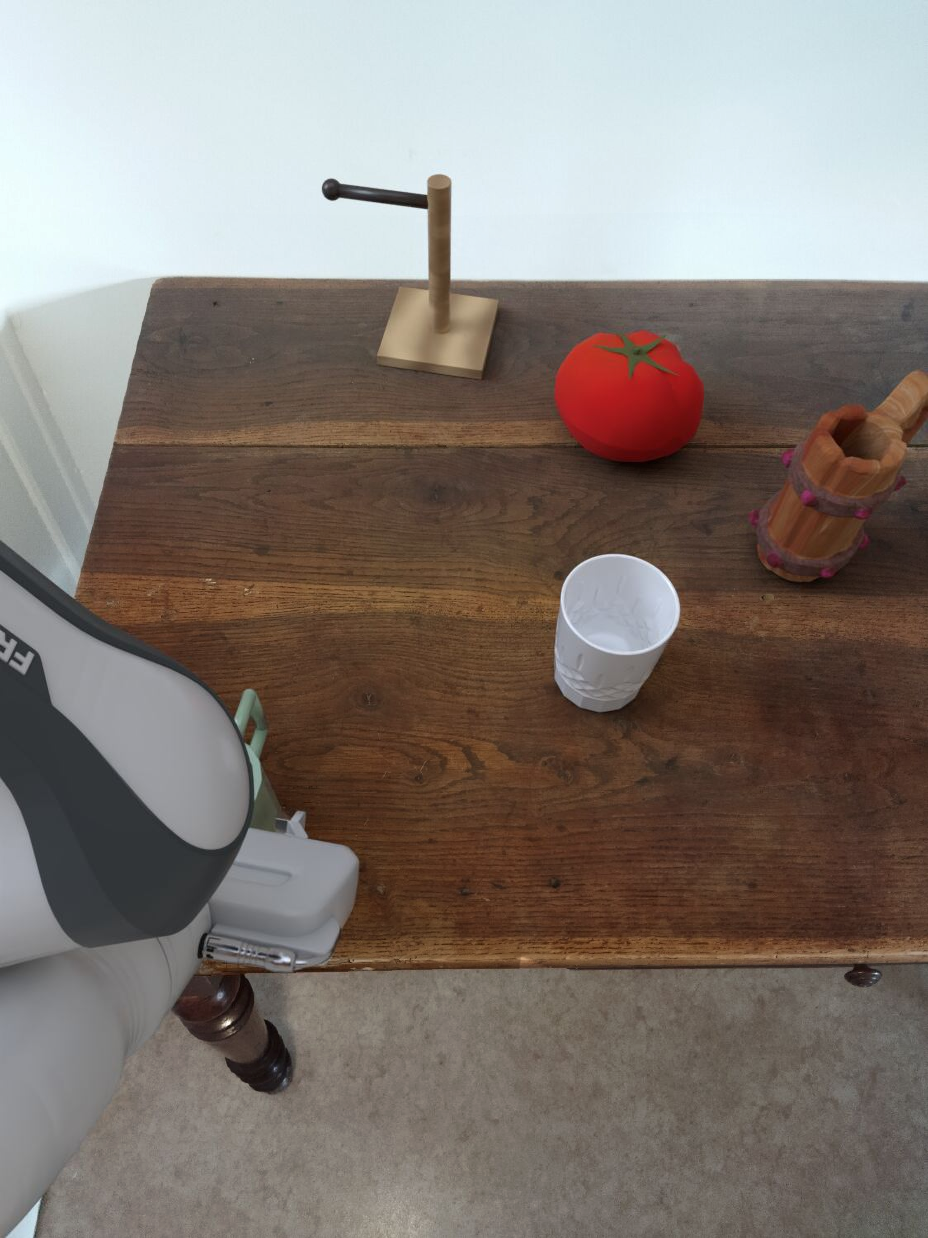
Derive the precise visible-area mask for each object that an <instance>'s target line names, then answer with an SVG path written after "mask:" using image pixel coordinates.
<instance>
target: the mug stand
mask: <svg viewBox="0 0 928 1238" xmlns="http://www.w3.org/2000/svg"><path fill="white" fill-rule="evenodd" d="M452 184H453V183H452V179H451V178H450V177H449V175H446V174H442V173H437V174H436V173H435V174H433V175H430V176H429V177H428V178H427V180H426V193H425V194H424V193H416V192H409V191H408V192H407V191H402V190H394V189H387V188H385V189H384V188H378V187H370V186H363V185H355V184H347V183H341V182H340V181H338V180H337V179H336V178H327V179H325V180H324V181H323V183H322V185H321V193H322V195H323V197H324V198H325V199H326V200H327V201H330V202H335V201H337V200H339V199H346V200H350V201H351V200H353V201H359V202H367V203H376V204H384V205H390V206H397V207H399V206H400V207H405V208H413V209H421V210H426V211H427V270H428V271H427V273H428V281H427V282H428V289H423V288H415V287H408V286H399V288H398V291H397V294H396V297H395V299H394V303H393V306H392V309H391V311H390V316H389V318H388V321H387V324H386V327H385V330H384V333H383V336H382V339H381V342H380V344H379V349H378V351H377V353H376V362H377V365H378V366H382V367H383V366H384V367H390V368H398V369H403V370H404V369H405V370H412V371H417V372H423V373H424V372H425V373H432V374H439V375H445V376H453V377H459V378H466V379H473V380H483V377H484V373H485V368H486V364H487V359H488V355H489V352H490V348H491V343H492V340H493V334H494V331H495V327H496V324H497V323H496V322H497V318H498V314H499V309H500V308H499V307H500V300H499V299H496V298H489V297H488V298H487V297H480V296H473V295H467V294H459V293H452V292H451V284H452V283H451V280H452V279H451V277H452V275H451V273H452V272H451V271H452V266H451V265H452V188H453V187H452Z"/></svg>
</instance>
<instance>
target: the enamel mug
mask: <svg viewBox="0 0 928 1238" xmlns="http://www.w3.org/2000/svg"><path fill="white" fill-rule="evenodd" d="M250 718H251V720H252V723H253V725H254V727H255V728H254V731H253V734H252V738H251V740H250V744H248V743H246V742H245V745H246V748H247V751H248V755H249V758H250V763H251V767H252V773H253V780H254V809H253V815H252V820H251V823H250V826H249V828H254V829H259V830H265V831H270V832H275V829H274V822H275V817H276V816H277V814H278V813H280V811H281V809H282V808H283V807H282V805H281V803H280V801H279V799H278V797H277V795H276V793H275V791H274V789H273V786H272V785H271V782H270V780H269V778H268V775H267V773H266V771H265V769H264V766H263V765H262V762H261V760H260V759H261V755H262V752H263V749H264V746H265V742H266V740H267V737H268V733H269V730H270V724H269V721H268V719H267V717H266V714H265V711H264V709H263V707H262V703H261V702H260V699H259V696H258V694H257V692H256V690H254V689H253V688H246V689H245V690H243V692H242V694H241V696H240V699H239V702H238V706H237V709H236V712H235V715H234V717H233V719H234V720H235V722H236V724H237V726H238V728H239V730H240V733H241V735H242V737H243V738H244V735H245V733H246V729H247V727H248V723H249V721H250Z"/></svg>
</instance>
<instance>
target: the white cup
mask: <svg viewBox="0 0 928 1238" xmlns="http://www.w3.org/2000/svg"><path fill="white" fill-rule="evenodd" d="M559 598H560V599H559V605H558V606H559V607H558V612H557V613H558V614H557V621H556V628H555V638H554V639H555V641H554V651H553V652H554V659H553V671H554V673H553V674H554V676H553V677H554V681H555V682H556V684H557V686H558V688H559V690H560V691H561V693H562V695H563V696H564V697H565V698H566V699H567V700H569V701H570V702H572V703H573V704H574V705H576V706H577V707H578V708H579V709H580V708H581V709H584V710H588V711H592V712H596V713H604V712H605V713H606V712H610V711H617V710H620V709H622V708H623V707H625V706H626V705H628V704H629V703H630V702H632V701H633V700H634V699H635V698H636V697H637V695H638V693H639V692H640V690H641V688H642V686H643V685H644V683H645V682H646V681H647V680H648V679H649V678H650V675H651V673H652V672H653V670H654V668H655V667H656V665H657V664H658V662H659V660H660V658H661V657H662V655H663V653H664V651H665V649H666V648H667V645H668V643H669V641H670V640H671V638H672V636H673V634H674V633H675V630H676V629H677V627H678V625H679V621H680V617H681V604H680V599H679V595H678V593H677V589H676V588H675V586H674V584H673V583H672V581H671V580H670V579H669V578H668V576H666V574H665V573H663V571H661V570H660V569H659V568H658V567H656V566H655V565H653V564H652V563H650V562H648V561H646V560H644V559H642V558H640V557H636V556H632V555H627V554H621V553H608V554H601V555H597V556H593V557H590V558H588V559H586V560H583V561H582V562H580V563H579V564H578V565H577V566H575V567H574V568H573V569H572V570H571V572H570V573H569V574H568V575H567V576H566V578H565V580H564V582H563V585H562V588H561V592H560V597H559Z"/></svg>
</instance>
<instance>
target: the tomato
mask: <svg viewBox="0 0 928 1238" xmlns="http://www.w3.org/2000/svg"><path fill="white" fill-rule="evenodd" d="M612 329H613V331H614V332H615V333H616V334H614V333H605V332H604V333H603V332H597V333H595V334H593V335H591V336H590V337H588V338H587V339H585V340H583V341H581V342H579V343H578V344H576V345H575V346H574V347H573V348H572V349H571V351H570V352H569V353H568V354H567V355H566V357H565V359H564V360H563V362H562V363H561V365H560V367H559V369H558V371H557V372H556V377H555V385H554V402H555V405H556V409H557V412H558V414H559V417H560V418H561V421H563V423H564V425H565V426H566V429H567V430H568V432H569V435H570V436H571V437H572V438H573V439H574V440H575V441H577V442H578V444H579V445H580V446H581V447H583V448H584V449H585V451H587V452H589V453H591V454H593V455H594V456H596V457H598V458H601V459H606V460H609V461H614V462H619V463H621V462H623V463H645V462H649V461H654V460H656V459H657V460H658V459H661V458H664V457H668V456H670V455H672V454H674V453H676V452H678V451H680V450H681V449H682V448H683V447H684V446H685V445H687V443H689V441H691V440H692V439H693V438H694V437H695V436H696V433H697V431H698V429H699V427H700V426H701V425H700V424H701V420H702V418H703V417H702V416H703V410H704V401H705V387H704V386H705V385H704V382H703V380H702V379H701V377H700V376H699V374H698V373H697V372H696V370H695V368H694V367H693V365H691V364H689V363H688V362H686V361H685V360H684V359H683V357H682V355H681V353H680V351H679V348H678V346H677V345H676V344H675V343H672V341H669V340H668V339H666V336H667V334H665V335H659V334H656V333H653V332H650V331H648V330H644V329H642V330H638V331H635V332H631V333H627V334H624V333H621V332H620V331H618V330H616V329H615V328H614V327H612Z"/></svg>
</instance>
